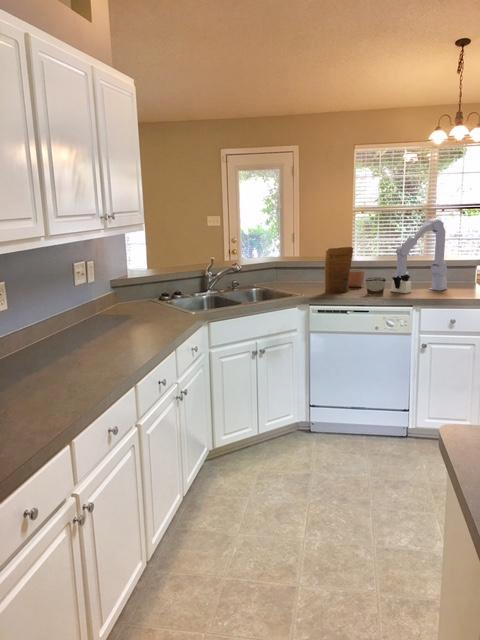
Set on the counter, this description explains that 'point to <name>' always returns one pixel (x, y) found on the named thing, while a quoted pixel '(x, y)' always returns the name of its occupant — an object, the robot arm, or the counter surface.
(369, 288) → the food container
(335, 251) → the pancake mix bag
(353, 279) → the planter
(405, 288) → the cream white block
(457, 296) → the counter surface
